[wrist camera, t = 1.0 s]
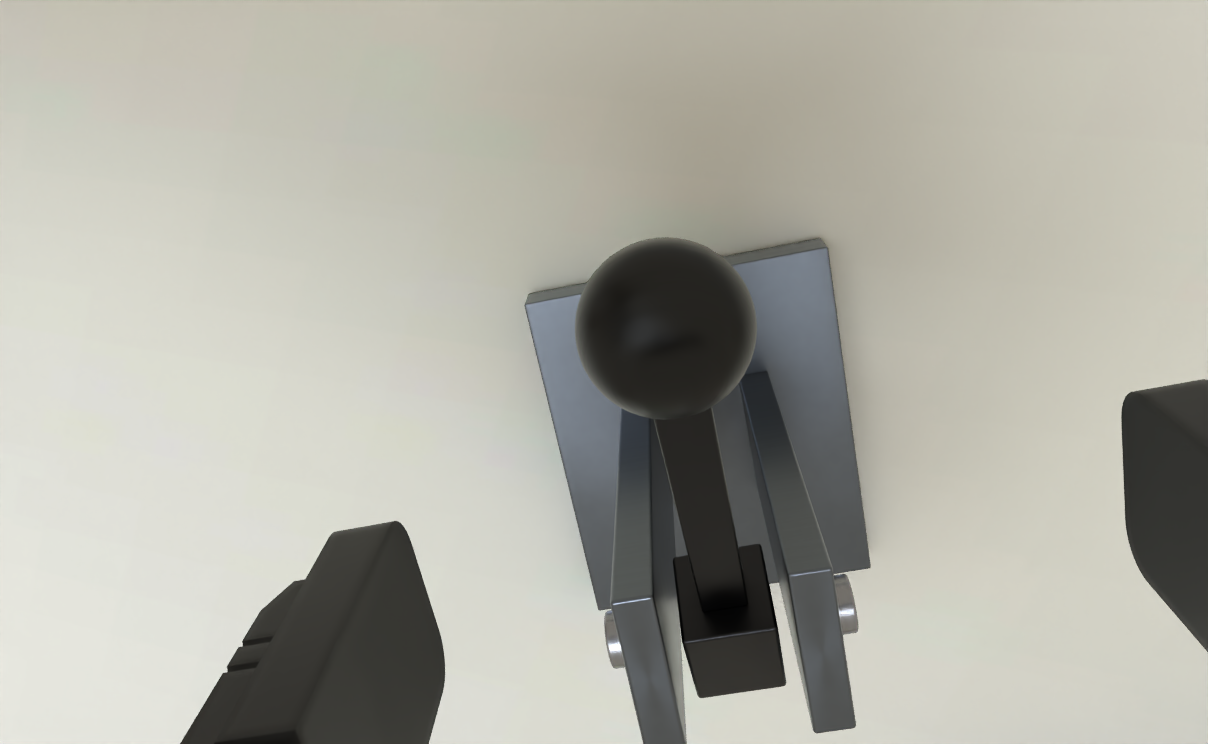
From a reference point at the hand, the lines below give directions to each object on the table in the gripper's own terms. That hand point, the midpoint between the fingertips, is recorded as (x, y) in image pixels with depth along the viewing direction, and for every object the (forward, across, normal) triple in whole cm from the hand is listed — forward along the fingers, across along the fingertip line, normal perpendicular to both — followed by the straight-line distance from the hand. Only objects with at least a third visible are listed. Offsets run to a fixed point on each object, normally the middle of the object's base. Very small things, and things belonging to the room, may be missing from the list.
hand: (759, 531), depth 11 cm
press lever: (+11, +1, +4) cm, 11 cm away
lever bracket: (+23, +1, +9) cm, 25 cm away
